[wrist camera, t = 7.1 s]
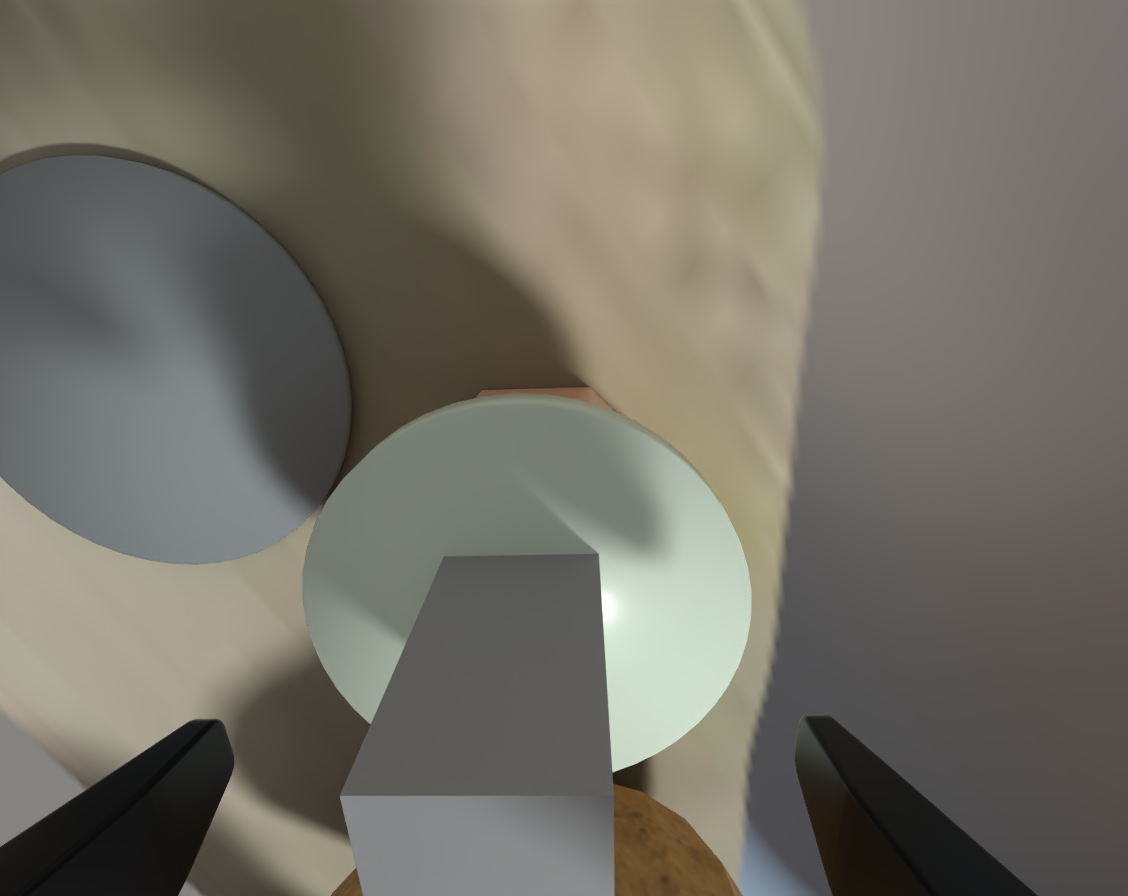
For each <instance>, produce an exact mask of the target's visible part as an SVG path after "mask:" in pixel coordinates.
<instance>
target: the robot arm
mask: <svg viewBox="0 0 1128 896" xmlns="http://www.w3.org/2000/svg"><path fill="white" fill-rule="evenodd" d="M795 766H796V772H797V775H798V779H799V782H800V786H801V789H802V793H803V797H804V800H805V804H806V807H807V810H808V814H809V818H810V821H811V825H812V828H813V832H814V835H815V839H816V842H817V846H818V849H819V853H820V856H821V860H822V863H823V867H824V870H825V873H826V877H827V880H828V883H829V886H830V889H831V892H832V894H833V896H1039V895H1038V894H1037V893H1036V892H1035V891H1033V890H1032V889H1031V888H1030V887H1029V886H1028V885H1026V884H1025V883H1024V882H1023V881H1022V880H1021V879H1020V878H1018V877H1017V876H1016V875H1015V874H1014V873H1013V872H1011V871H1010V870H1009V869H1008V868H1007V867H1006V866H1004V865H1003V864H1002V863H1001V862H1000V861H999V860H998V859H996V858H995V857H994V856H993V855H992V854H990V853H989V852H988V851H987V850H986V849H985V848H984V847H982V846H981V845H980V844H979V843H978V842H977V841H976V840H974V839H973V838H972V837H971V836H970V835H969V834H967V833H966V832H965V831H964V830H963V829H962V828H960V827H959V826H958V825H957V824H956V823H954V822H953V821H952V820H951V819H950V818H949V817H948V816H947V815H945V814H944V813H943V812H942V811H941V810H940V809H938V808H937V807H936V806H935V805H934V804H933V803H931V802H930V801H929V800H928V799H927V798H926V797H925V796H923V795H922V794H921V793H920V792H919V791H917V790H916V789H915V788H914V787H913V786H912V785H911V784H909V783H908V782H907V781H906V780H905V779H903V778H902V777H901V776H900V775H899V774H898V773H897V772H896V771H894V770H893V769H892V768H891V767H890V766H889V765H887V764H886V763H885V762H884V761H883V760H882V759H881V758H879V757H878V756H877V755H876V754H875V753H874V752H872V751H871V750H870V749H869V748H868V747H867V746H865V745H864V744H863V743H862V742H861V741H860V740H859V739H857V738H856V737H855V736H854V735H853V734H852V733H850V732H849V731H848V730H847V729H846V728H845V727H843V726H842V725H841V724H840V723H839V722H838V721H837V720H835V719H834V718H832V717H831V716H829V715H803V716H802V717H801V719H800V721H799V727H798V734H797V742H796V749H795ZM233 768H234V755H233V752H232V748H231V745H230V742H229V739H228V736H227V733H226V729H225V726H224V724H223V723H222V722H221V721H220V720H218V719H195V720H192V721H189V722H188V723H186V724H185V725H183V726H182V727H180V728H179V729H177V730H176V731H174V732H173V733H171V734H170V735H168V736H167V737H165V738H163V739H162V740H160V741H159V742H157V743H156V744H154V745H153V746H151V747H150V748H148V749H147V750H145V751H144V752H142V753H141V754H139V755H138V756H136V757H135V758H133V759H132V760H130V761H129V762H127V763H126V764H124V765H123V766H121V767H120V768H118V769H117V770H115V771H114V772H112V773H111V774H109V775H108V776H106V777H105V778H103V779H102V780H100V781H99V782H97V783H96V784H94V785H93V786H91V787H90V788H88V789H87V790H85V791H84V792H82V793H81V794H79V795H78V796H76V797H75V798H73V799H72V800H70V801H69V802H67V803H66V804H64V805H63V806H61V807H60V808H58V809H57V810H55V811H54V812H52V813H51V814H49V815H48V816H46V817H45V818H43V819H42V820H40V821H38V822H37V823H35V824H34V825H33V826H31V827H29V828H28V829H27V830H25V831H24V832H22V833H21V834H19V835H17V836H16V837H14V838H13V839H12V840H10V841H8V842H7V843H5V844H4V845H2V846H1V847H0V896H178V895H179V893H180V891H181V889H182V887H183V885H184V883H185V881H186V879H187V877H188V874H189V872H190V870H191V868H192V866H193V864H194V861H195V859H196V857H197V854H198V852H199V850H200V847H201V845H202V843H203V840H204V838H205V836H206V833H207V831H208V829H209V826H210V824H211V822H212V819H213V817H214V815H215V812H216V810H217V808H218V805H219V803H220V801H221V798H222V796H223V794H224V791H225V789H226V787H227V784H228V782H229V780H230V777H231V775H232V772H233Z"/></svg>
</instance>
